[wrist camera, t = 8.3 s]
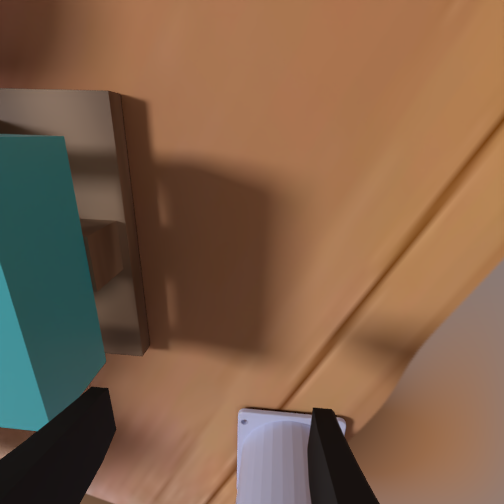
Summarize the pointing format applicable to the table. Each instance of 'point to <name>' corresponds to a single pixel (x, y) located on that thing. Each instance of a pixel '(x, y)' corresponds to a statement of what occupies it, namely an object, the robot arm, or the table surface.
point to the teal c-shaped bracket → (42, 285)
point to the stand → (94, 198)
